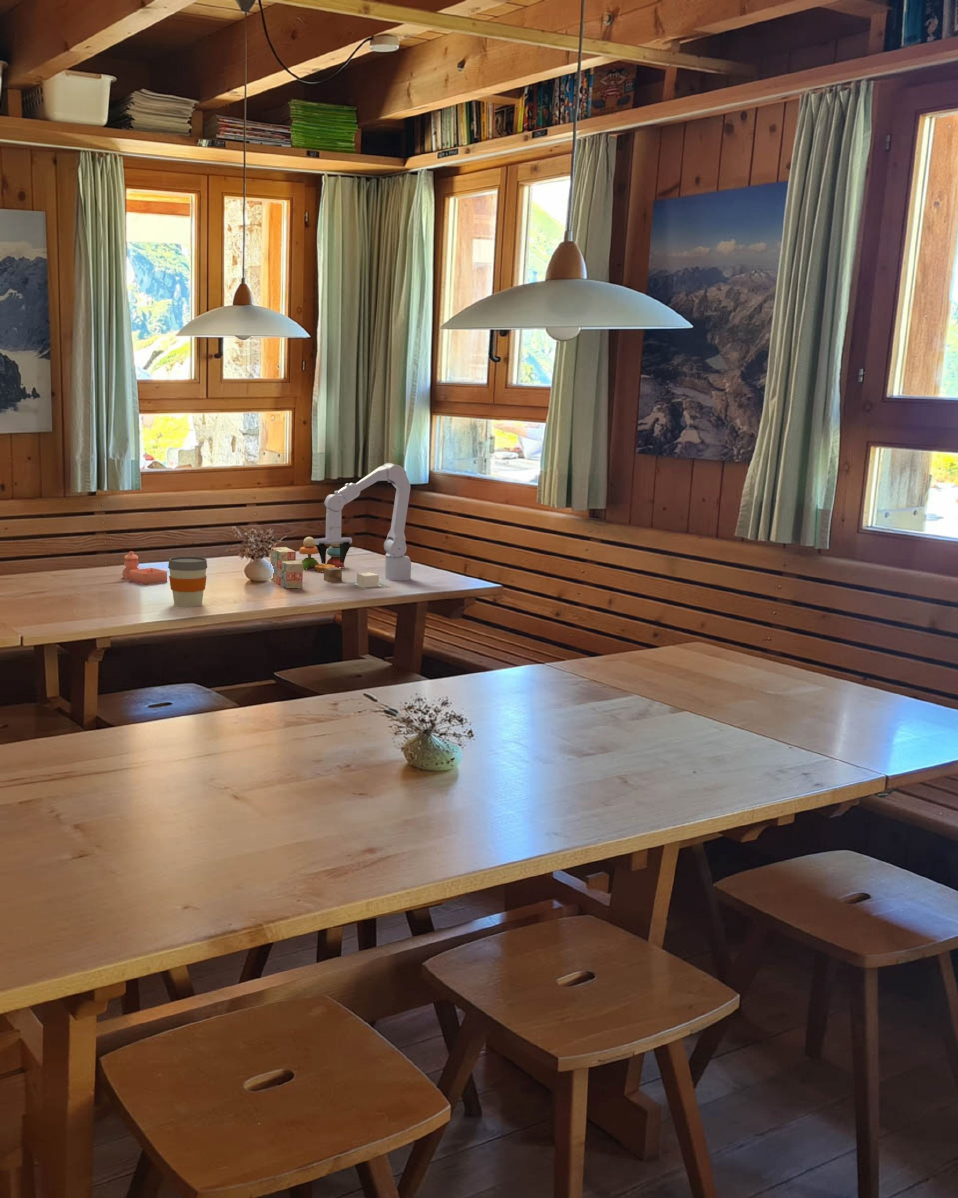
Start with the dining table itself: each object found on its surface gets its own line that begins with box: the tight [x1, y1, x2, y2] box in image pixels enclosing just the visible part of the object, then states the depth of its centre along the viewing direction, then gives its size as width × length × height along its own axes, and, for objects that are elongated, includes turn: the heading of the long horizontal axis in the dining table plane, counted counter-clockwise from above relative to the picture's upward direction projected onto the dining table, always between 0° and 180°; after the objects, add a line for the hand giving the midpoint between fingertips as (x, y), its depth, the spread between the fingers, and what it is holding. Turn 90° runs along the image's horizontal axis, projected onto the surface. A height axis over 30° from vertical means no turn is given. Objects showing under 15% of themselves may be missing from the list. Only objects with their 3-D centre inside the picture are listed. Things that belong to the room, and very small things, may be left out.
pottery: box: [121, 550, 168, 586], centre depth 430 cm, size 18×10×10 cm, turn 51°
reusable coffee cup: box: [167, 555, 208, 608], centre depth 390 cm, size 13×13×15 cm
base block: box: [356, 572, 380, 587], centre depth 436 cm, size 6×6×4 cm
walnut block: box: [323, 567, 343, 583], centre depth 443 cm, size 5×5×5 cm
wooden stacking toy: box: [298, 536, 345, 573], centre depth 469 cm, size 18×17×12 cm
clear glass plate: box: [345, 581, 390, 590], centre depth 436 cm, size 12×14×1 cm
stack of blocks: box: [269, 546, 304, 589], centre depth 434 cm, size 21×6×12 cm, turn 25°
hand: (332, 563), depth 442 cm, fingers open, 7 cm apart
